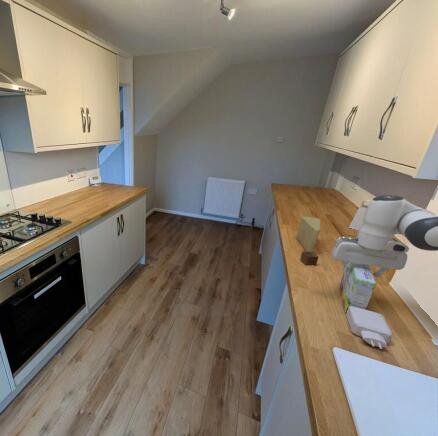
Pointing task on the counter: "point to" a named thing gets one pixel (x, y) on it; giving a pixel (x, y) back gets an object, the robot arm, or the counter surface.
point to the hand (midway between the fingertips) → (360, 273)
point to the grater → (359, 217)
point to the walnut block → (309, 258)
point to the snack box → (357, 286)
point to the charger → (369, 326)
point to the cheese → (308, 232)
